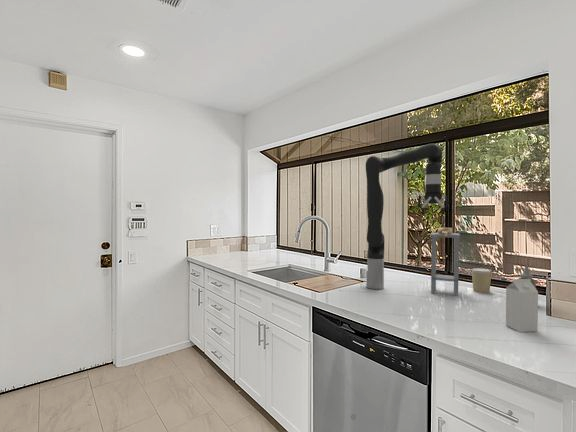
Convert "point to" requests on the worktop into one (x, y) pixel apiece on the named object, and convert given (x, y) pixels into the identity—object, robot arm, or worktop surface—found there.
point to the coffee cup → (481, 280)
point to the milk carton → (522, 306)
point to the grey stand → (433, 262)
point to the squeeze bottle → (527, 276)
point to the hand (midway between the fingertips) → (432, 215)
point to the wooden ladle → (444, 231)
